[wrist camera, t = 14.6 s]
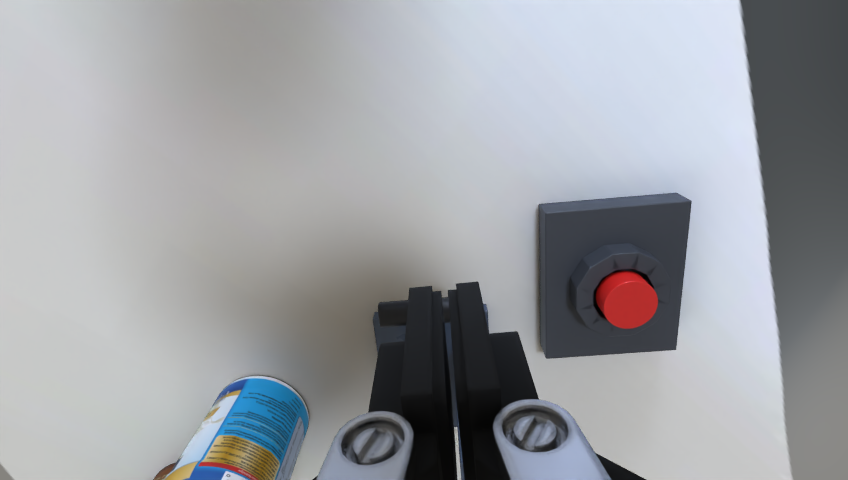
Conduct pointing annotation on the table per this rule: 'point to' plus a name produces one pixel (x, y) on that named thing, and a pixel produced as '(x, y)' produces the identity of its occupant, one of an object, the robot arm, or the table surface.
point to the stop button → (626, 299)
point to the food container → (164, 472)
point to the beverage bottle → (247, 434)
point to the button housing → (610, 271)
